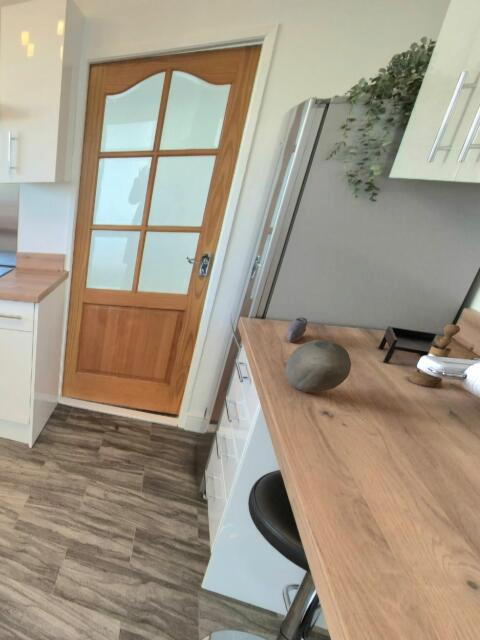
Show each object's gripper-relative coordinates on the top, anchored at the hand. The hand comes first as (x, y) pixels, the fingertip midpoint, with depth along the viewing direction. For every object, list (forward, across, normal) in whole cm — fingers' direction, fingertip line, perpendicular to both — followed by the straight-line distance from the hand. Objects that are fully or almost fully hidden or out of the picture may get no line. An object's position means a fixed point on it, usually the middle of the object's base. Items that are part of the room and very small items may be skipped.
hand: (452, 358), depth 118 cm
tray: (+25, +4, -10) cm, 27 cm away
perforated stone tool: (+34, -25, -10) cm, 44 cm away
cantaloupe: (-13, -35, -10) cm, 39 cm away
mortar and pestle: (+5, 0, -10) cm, 11 cm away
